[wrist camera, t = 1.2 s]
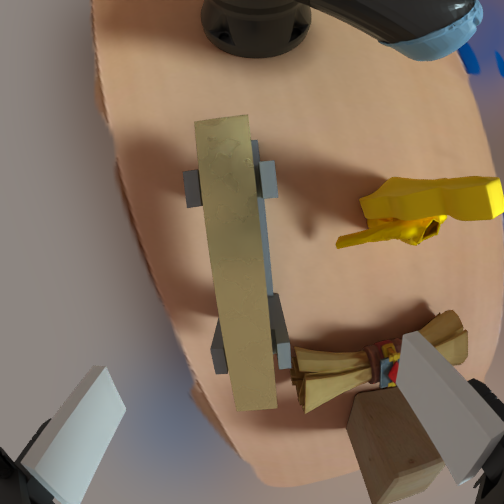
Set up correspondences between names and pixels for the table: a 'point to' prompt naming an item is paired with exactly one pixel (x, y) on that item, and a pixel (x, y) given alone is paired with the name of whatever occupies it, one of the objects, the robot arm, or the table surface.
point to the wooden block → (391, 446)
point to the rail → (237, 257)
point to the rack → (265, 189)
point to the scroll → (369, 362)
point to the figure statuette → (424, 207)
